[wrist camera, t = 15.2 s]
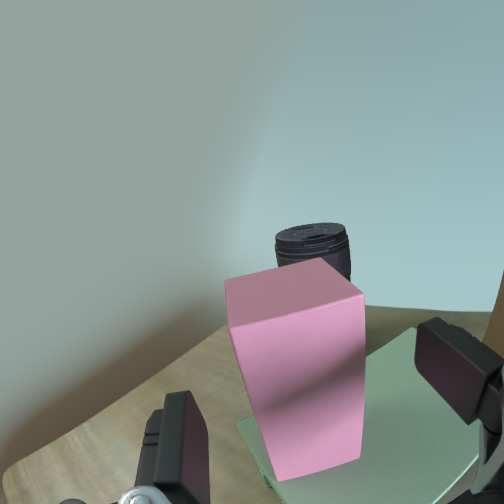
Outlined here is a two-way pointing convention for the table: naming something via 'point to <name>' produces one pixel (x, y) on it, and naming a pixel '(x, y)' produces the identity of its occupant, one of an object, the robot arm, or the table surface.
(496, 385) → the robot arm
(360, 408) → the pink box
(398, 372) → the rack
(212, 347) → the table surface
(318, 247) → the camera lens
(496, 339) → the photo frame
